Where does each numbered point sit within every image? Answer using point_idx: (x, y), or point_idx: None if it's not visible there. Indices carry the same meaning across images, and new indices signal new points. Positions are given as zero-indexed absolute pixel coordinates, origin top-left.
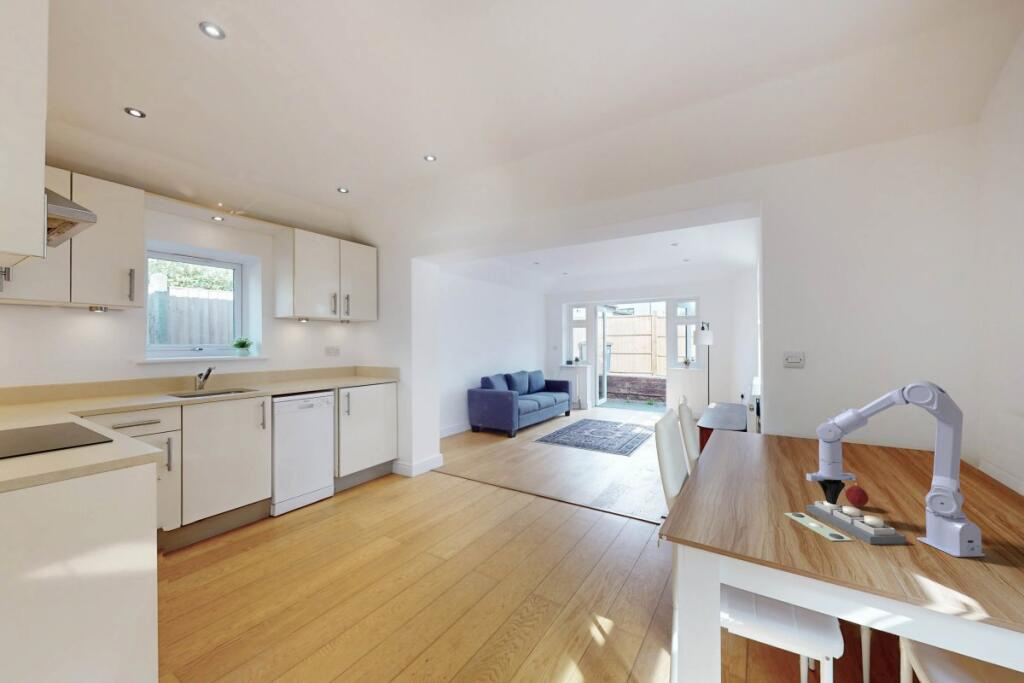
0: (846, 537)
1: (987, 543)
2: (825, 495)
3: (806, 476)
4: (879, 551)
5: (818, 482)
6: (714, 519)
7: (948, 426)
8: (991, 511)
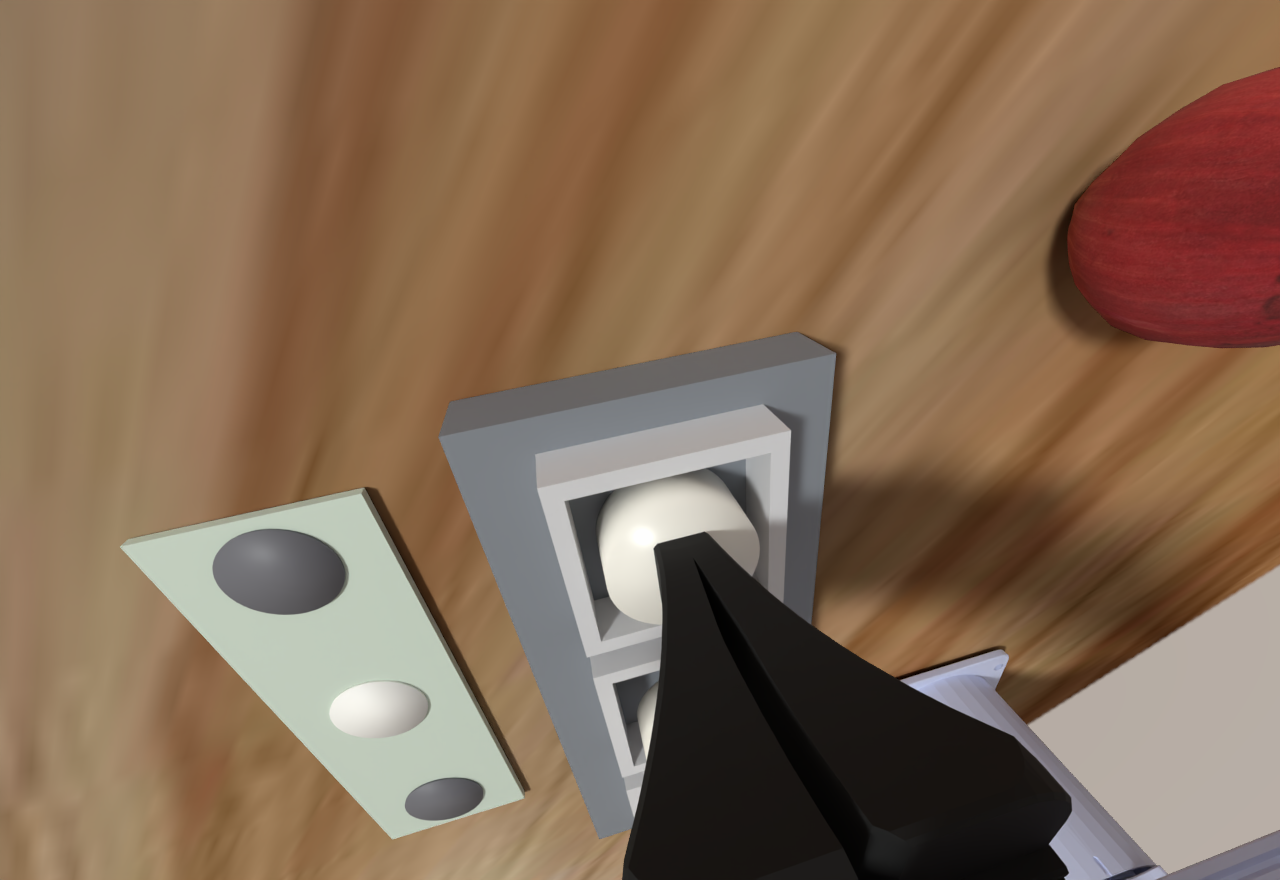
0: (502, 789)
1: (1122, 630)
2: (665, 610)
3: None
4: (583, 829)
5: (631, 840)
6: None
7: None
8: None
